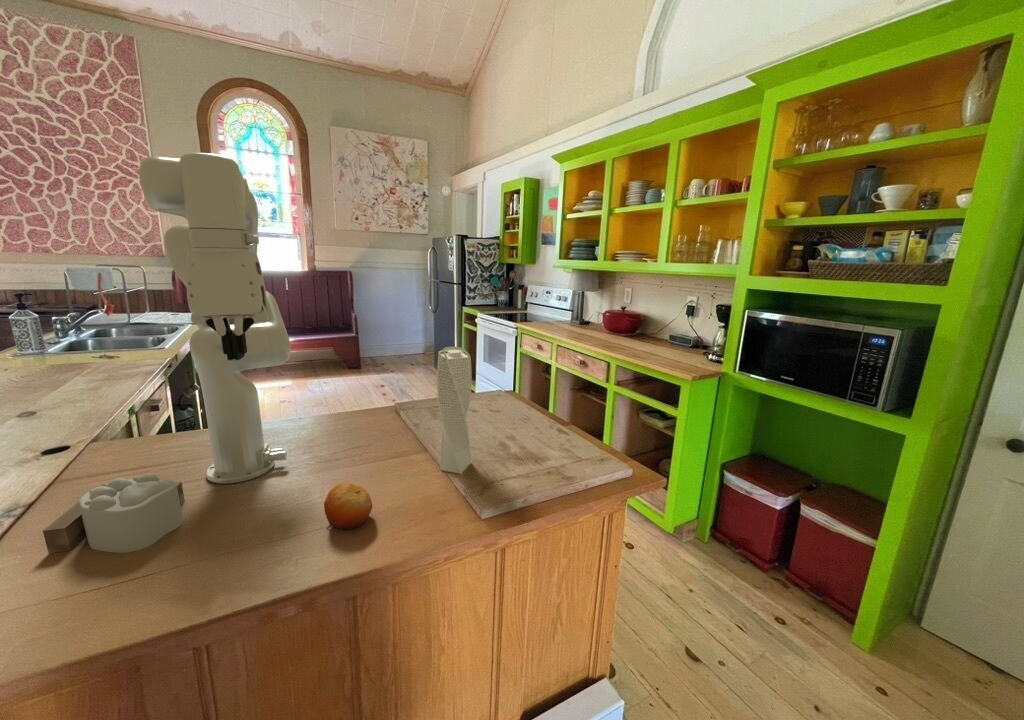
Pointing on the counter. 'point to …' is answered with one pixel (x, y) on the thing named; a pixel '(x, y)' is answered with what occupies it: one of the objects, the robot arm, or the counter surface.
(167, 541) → the counter surface
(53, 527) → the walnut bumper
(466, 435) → the skyscraper
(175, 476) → the counter surface
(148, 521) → the lumpy-topped squat cylinder
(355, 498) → the fruit
